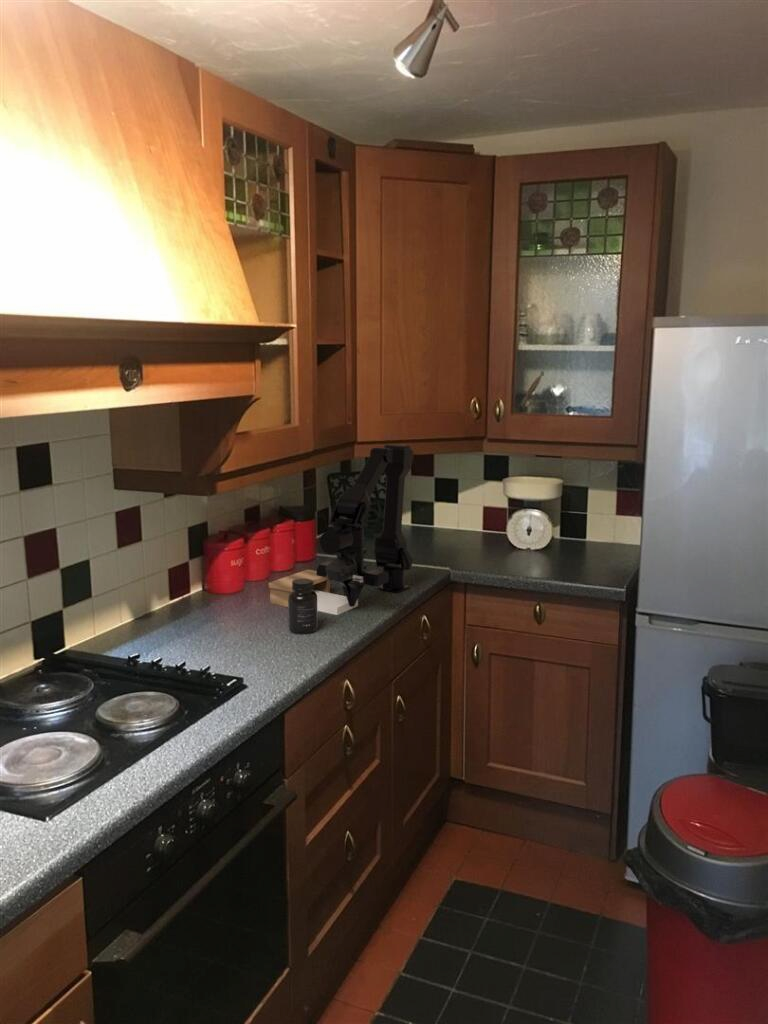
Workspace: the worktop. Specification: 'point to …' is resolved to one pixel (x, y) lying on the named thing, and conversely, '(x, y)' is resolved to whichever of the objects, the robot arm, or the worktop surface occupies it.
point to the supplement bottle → (302, 607)
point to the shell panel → (332, 603)
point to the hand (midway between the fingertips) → (352, 606)
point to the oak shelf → (284, 586)
